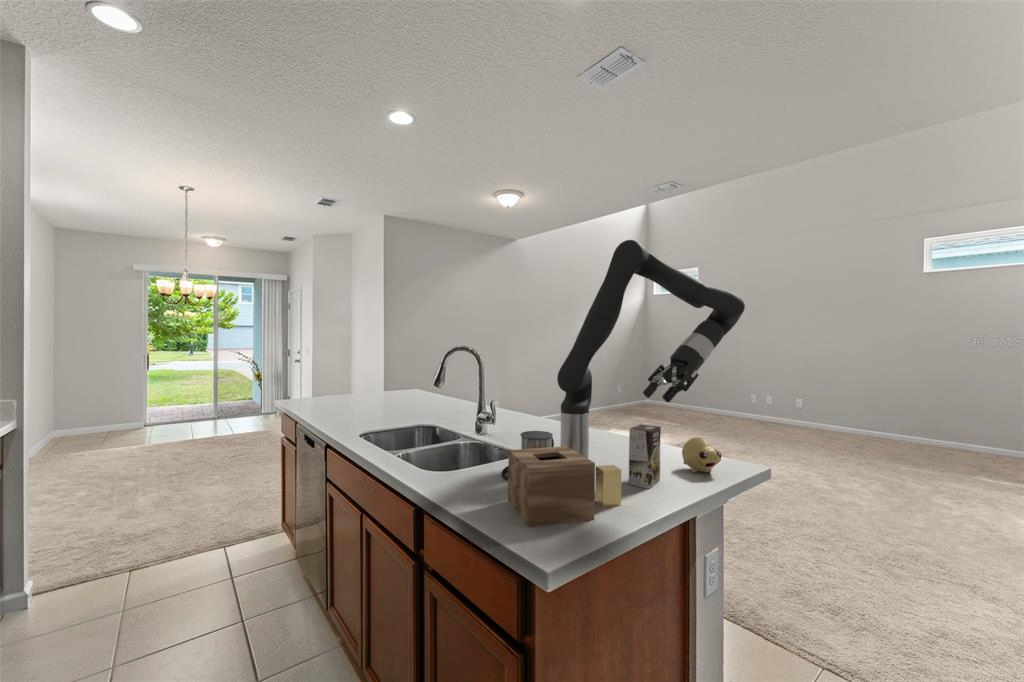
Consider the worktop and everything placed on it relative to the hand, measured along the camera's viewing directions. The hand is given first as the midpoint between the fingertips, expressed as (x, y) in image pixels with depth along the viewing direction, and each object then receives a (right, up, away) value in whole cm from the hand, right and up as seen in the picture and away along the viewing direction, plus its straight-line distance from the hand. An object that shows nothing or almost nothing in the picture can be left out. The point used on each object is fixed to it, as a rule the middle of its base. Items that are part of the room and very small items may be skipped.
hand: (655, 397), depth 114 cm
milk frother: (-33, -26, +11) cm, 44 cm away
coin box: (-28, -26, -8) cm, 39 cm away
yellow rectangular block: (-13, -26, -4) cm, 29 cm away
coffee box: (+1, -26, +12) cm, 29 cm away
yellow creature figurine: (+22, -26, +23) cm, 41 cm away
